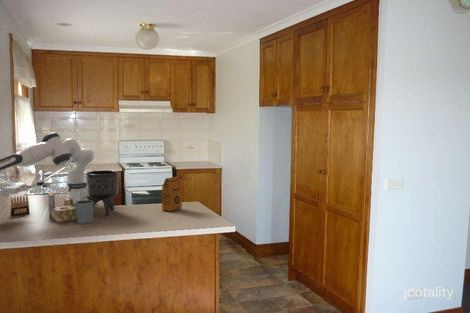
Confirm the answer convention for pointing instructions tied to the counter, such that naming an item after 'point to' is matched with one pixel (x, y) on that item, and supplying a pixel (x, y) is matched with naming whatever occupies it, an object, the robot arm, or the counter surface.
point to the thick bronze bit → (69, 202)
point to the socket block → (64, 214)
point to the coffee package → (171, 195)
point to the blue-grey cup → (84, 211)
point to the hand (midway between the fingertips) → (29, 188)
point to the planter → (103, 188)
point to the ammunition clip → (19, 206)
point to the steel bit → (51, 203)
